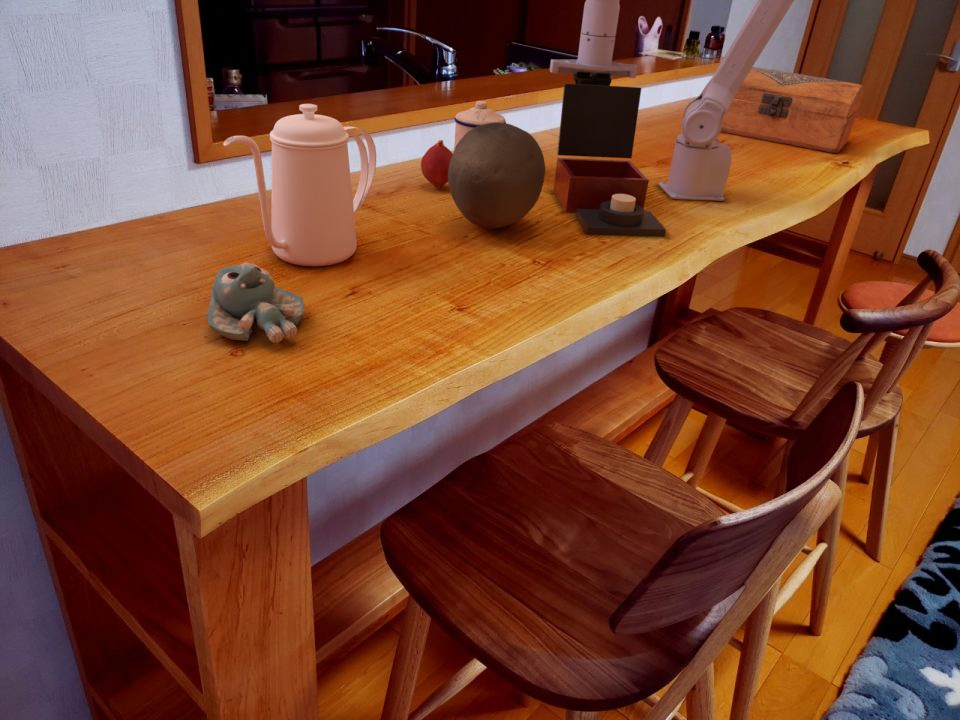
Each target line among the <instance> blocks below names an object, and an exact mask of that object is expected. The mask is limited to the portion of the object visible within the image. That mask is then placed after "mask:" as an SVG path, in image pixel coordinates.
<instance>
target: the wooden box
mask: <svg viewBox="0 0 960 720" xmlns="http://www.w3.org/2000/svg"><path fill="white" fill-rule="evenodd" d="M864 91H865V86H864V85H862V84H859V83H853V82H848V81H840V80H836V79H832V78H825V77H820V76H819V77H818V76H813V75H808V74H801V73H795V72H789V71H783V70H776V69H770V68H764V67H758V66H757V67H756V66H753V67H752V68H751V70H750V72H749V73H748V75H747V76H746V78H745V79H744V81H743V83H742V84H741V86H740V87H739V89H738V91H737V92H736V94H735V96H734V98H733V100H732V102H731V104H730V106H729V109H728V110H727V112H726V114H725V115H724V117H723V120H722V128H721V132H720V133H727V134H732V135H736V136H743V137H747V138H752V139H757V140H763V141H768V142H772V143H773V142H774V143H778V144H783V145H784V144H786V145H791V146H795V147H800V148H805V149H809V150H815V151H820V152H824V153H825V152H827V153H831V154H832V153H833V154H837V153H839V152H840V151H841V150H842V149H843V148H844V146H845V145H846V144H847V143H848V141H849V139H850V136H851V133H852V129H853V126H854V123H855V120H856V117H857V114H858V112H859V107H860V105H861V101H862V99H863V96H864V95H863V94H864Z"/></svg>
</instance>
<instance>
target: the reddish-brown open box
mask: <svg viewBox="0 0 960 720" xmlns="http://www.w3.org/2000/svg"><path fill="white" fill-rule="evenodd" d="M649 182H650V180H649V178H648V177H647V176H646V175H645V174H643V172H641V170H639V168H638V167H637V166H636V165H635V164H634V163H633V162H632V161H631V160H617V159H616V160H615V159H595V158H571V157H569V158H568V157H557V158H556V166H555V174H554V183H553V190H552V192H553V194H554V195H555V197H556V199H557V200H558V202H559V203H560V206H561V207H562V209H563V211H564V212H565V214H576V209H595V210H599V208H600V205H601V204H602V203H603V202H606V201H611V199H612V195H614V194H626V195H630V196H633V197H635V198H636V202H635V204H636V205H638V206H641V207H642V208H643V209H644V208H645V204H646V198H647V194H648V193H647V192H648V188H649Z"/></svg>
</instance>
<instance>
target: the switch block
mask: <svg viewBox="0 0 960 720" xmlns="http://www.w3.org/2000/svg"><path fill="white" fill-rule="evenodd" d="M610 205H611V201H606V202H603V203H602V204H601V205H600V208H599V210H595V209H576V213H575V215H574V216H575V218H576V220H577V221H578V223H579V224H580V226H581V227H582V229H583V231H584V233H585V234H586V235H590V236H591V235H592V236H621V237H622V236H623V237H625V236H626V237H653V238H654V237H656V238H665V236H666V231H667V229H666V227H664V226H663V224H662V223H661V222H660V221H659V220H658V218H657V217H656V216H655V215H654V214H653V212H651V211H650V210H644V209H643V208H642V207H641V206H638V205H636V204H635V207H634V212H630V213H627V212H618V211H614V210H612V209H610Z"/></svg>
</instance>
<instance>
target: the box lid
mask: <svg viewBox="0 0 960 720" xmlns="http://www.w3.org/2000/svg"><path fill="white" fill-rule="evenodd" d="M641 95H642V87H640V86H639V87H638V86H624V85H623V86H620V85H610V86H605V85H586V84H575V83H567V82H565V83H564V84H563V92H562V103H561V114H560V122H559V123H560V124H559V132H558V133H559V134H558V143H557V152H556V154H557V156H561V157H562V156H564V157H565V156H566V157H588V158H609V159H610V158H612V159H632V157H633V151H634V144H635V137H636V129H637V122H638V115H639V109H640V101H641Z"/></svg>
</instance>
